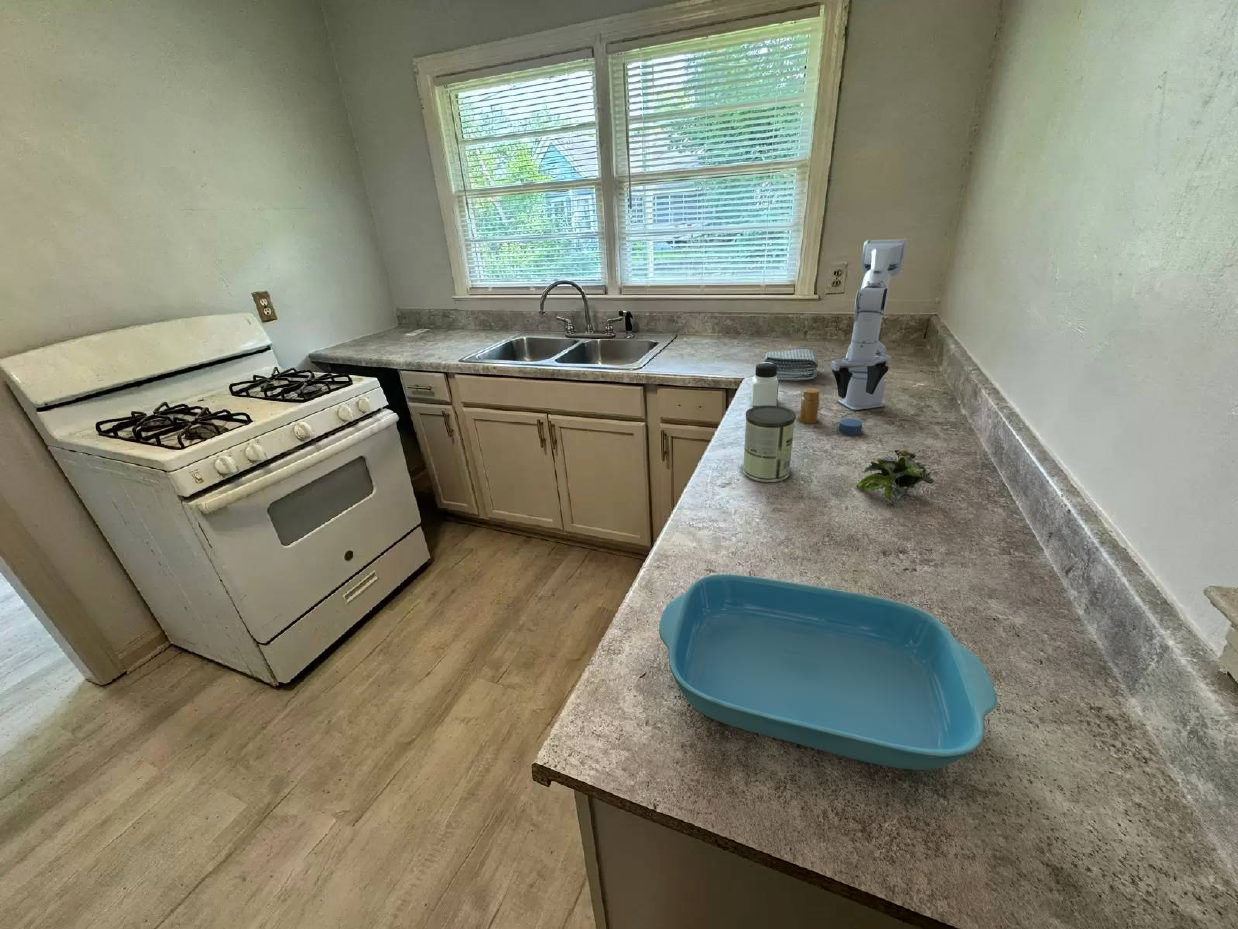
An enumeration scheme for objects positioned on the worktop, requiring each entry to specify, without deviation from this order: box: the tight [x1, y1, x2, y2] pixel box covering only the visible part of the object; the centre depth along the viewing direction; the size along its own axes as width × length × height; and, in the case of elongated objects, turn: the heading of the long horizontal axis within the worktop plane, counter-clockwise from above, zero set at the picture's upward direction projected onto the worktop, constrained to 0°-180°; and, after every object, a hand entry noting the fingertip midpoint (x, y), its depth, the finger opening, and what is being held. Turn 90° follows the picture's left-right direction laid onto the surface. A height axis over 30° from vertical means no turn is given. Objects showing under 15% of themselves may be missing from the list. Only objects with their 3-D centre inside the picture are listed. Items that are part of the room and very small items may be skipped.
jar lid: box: [838, 418, 863, 436], centre depth 127 cm, size 5×5×2 cm
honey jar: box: [798, 387, 821, 424], centre depth 134 cm, size 5×5×9 cm
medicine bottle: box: [750, 361, 779, 407], centre depth 147 cm, size 7×7×12 cm
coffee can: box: [742, 405, 797, 483], centre depth 108 cm, size 10×10×14 cm
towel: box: [761, 348, 819, 382], centre depth 171 cm, size 15×18×8 cm
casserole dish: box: [658, 573, 998, 771], centre depth 60 cm, size 37×22×7 cm, turn 72°
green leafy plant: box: [856, 449, 935, 506], centre depth 98 cm, size 11×11×12 cm
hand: (855, 394), depth 123 cm, fingers open, 7 cm apart
